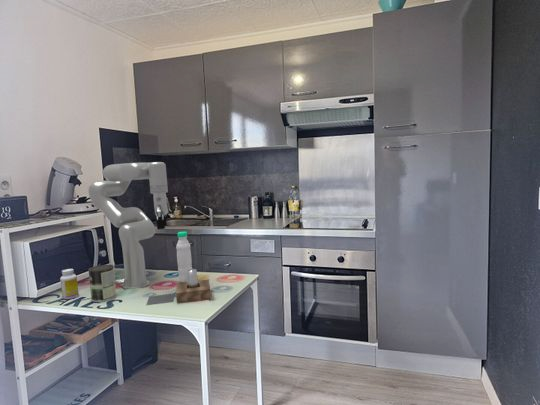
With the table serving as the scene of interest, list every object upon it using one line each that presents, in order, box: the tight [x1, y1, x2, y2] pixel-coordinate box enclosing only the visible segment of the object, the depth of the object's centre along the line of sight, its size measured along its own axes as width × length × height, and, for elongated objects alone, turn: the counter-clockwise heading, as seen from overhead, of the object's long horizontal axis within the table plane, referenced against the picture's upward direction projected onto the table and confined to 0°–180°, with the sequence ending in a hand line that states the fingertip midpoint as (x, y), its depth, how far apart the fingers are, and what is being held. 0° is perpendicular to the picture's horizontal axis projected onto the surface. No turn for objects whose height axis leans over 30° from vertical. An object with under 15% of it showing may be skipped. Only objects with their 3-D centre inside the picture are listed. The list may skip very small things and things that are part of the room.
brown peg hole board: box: [175, 278, 212, 305], centre depth 154 cm, size 14×14×5 cm
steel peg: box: [187, 268, 199, 288], centre depth 153 cm, size 4×4×12 cm
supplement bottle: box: [59, 268, 80, 300], centre depth 162 cm, size 7×7×13 cm
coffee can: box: [87, 264, 117, 303], centre depth 159 cm, size 10×10×14 cm
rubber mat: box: [145, 292, 176, 306], centre depth 152 cm, size 11×11×1 cm
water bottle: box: [175, 231, 193, 283], centre depth 177 cm, size 7×7×25 cm
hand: (162, 227), depth 159 cm, fingers open, 9 cm apart
